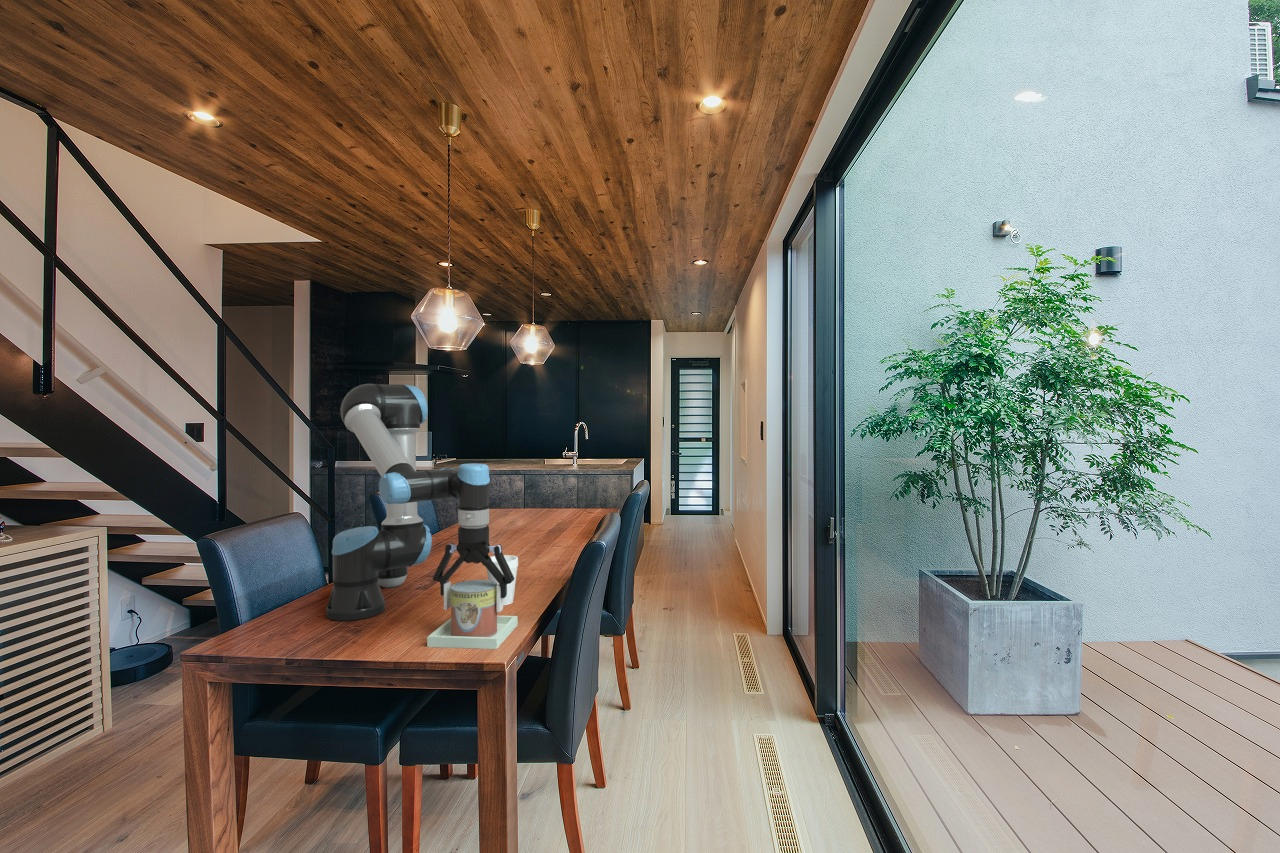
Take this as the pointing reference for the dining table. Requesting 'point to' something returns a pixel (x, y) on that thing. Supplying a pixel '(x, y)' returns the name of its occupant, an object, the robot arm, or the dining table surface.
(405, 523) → the robot arm
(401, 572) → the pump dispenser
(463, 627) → the canned food
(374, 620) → the dining table surface
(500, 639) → the tray
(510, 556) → the foam cup
